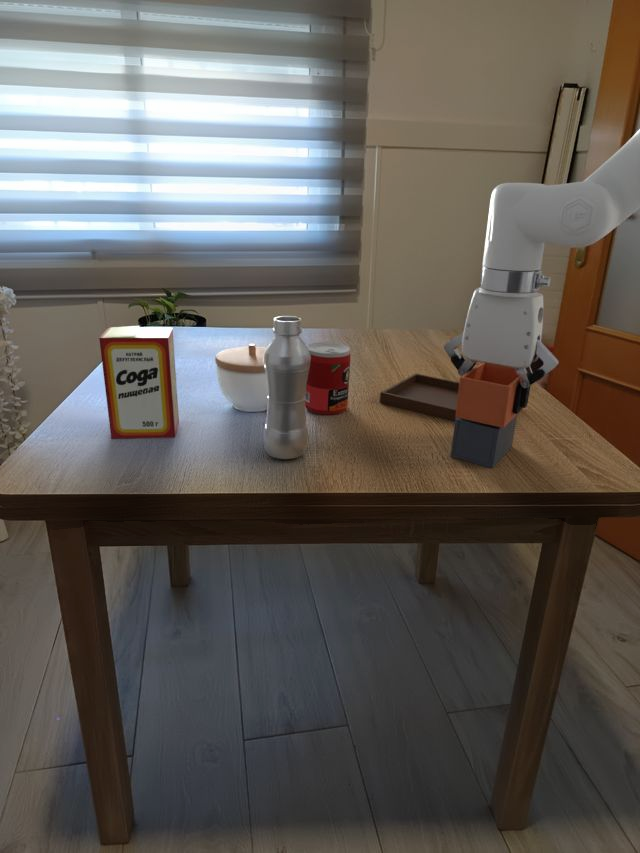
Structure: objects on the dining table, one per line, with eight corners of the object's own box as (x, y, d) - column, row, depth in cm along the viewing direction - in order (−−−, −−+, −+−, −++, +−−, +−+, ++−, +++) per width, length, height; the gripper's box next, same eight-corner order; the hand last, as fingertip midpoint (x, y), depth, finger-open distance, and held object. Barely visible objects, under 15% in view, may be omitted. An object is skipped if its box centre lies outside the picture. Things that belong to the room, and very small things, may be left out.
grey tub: (511, 446, 89) (518, 410, 87) (492, 468, 82) (499, 429, 80) (472, 436, 92) (477, 401, 90) (450, 456, 85) (455, 419, 83)
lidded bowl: (226, 421, 95) (224, 357, 91) (210, 396, 106) (208, 338, 101) (297, 413, 99) (299, 351, 95) (275, 390, 110) (276, 334, 106)
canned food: (335, 418, 98) (338, 356, 93) (295, 409, 101) (296, 348, 97) (355, 405, 104) (358, 346, 100) (317, 397, 107) (319, 339, 103)
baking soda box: (178, 421, 94) (172, 325, 88) (175, 437, 88) (167, 335, 82) (119, 422, 93) (108, 325, 87) (111, 438, 87) (98, 335, 81)
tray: (507, 402, 108) (509, 392, 107) (480, 427, 96) (482, 416, 95) (414, 382, 118) (415, 373, 117) (379, 402, 106) (380, 392, 105)
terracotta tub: (523, 407, 87) (529, 369, 84) (503, 428, 79) (509, 386, 77) (478, 398, 90) (483, 361, 88) (455, 417, 82) (459, 377, 80)
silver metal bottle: (253, 455, 83) (251, 318, 76) (285, 441, 88) (287, 311, 81) (285, 469, 80) (287, 326, 72) (317, 454, 84) (322, 319, 77)
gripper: (582, 285, 76) (558, 410, 83) (457, 273, 85) (445, 387, 91) (570, 292, 70) (546, 426, 77) (437, 278, 79) (426, 400, 86)
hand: (491, 404), depth 84 cm, fingers closed on terracotta tub, 7 cm apart
